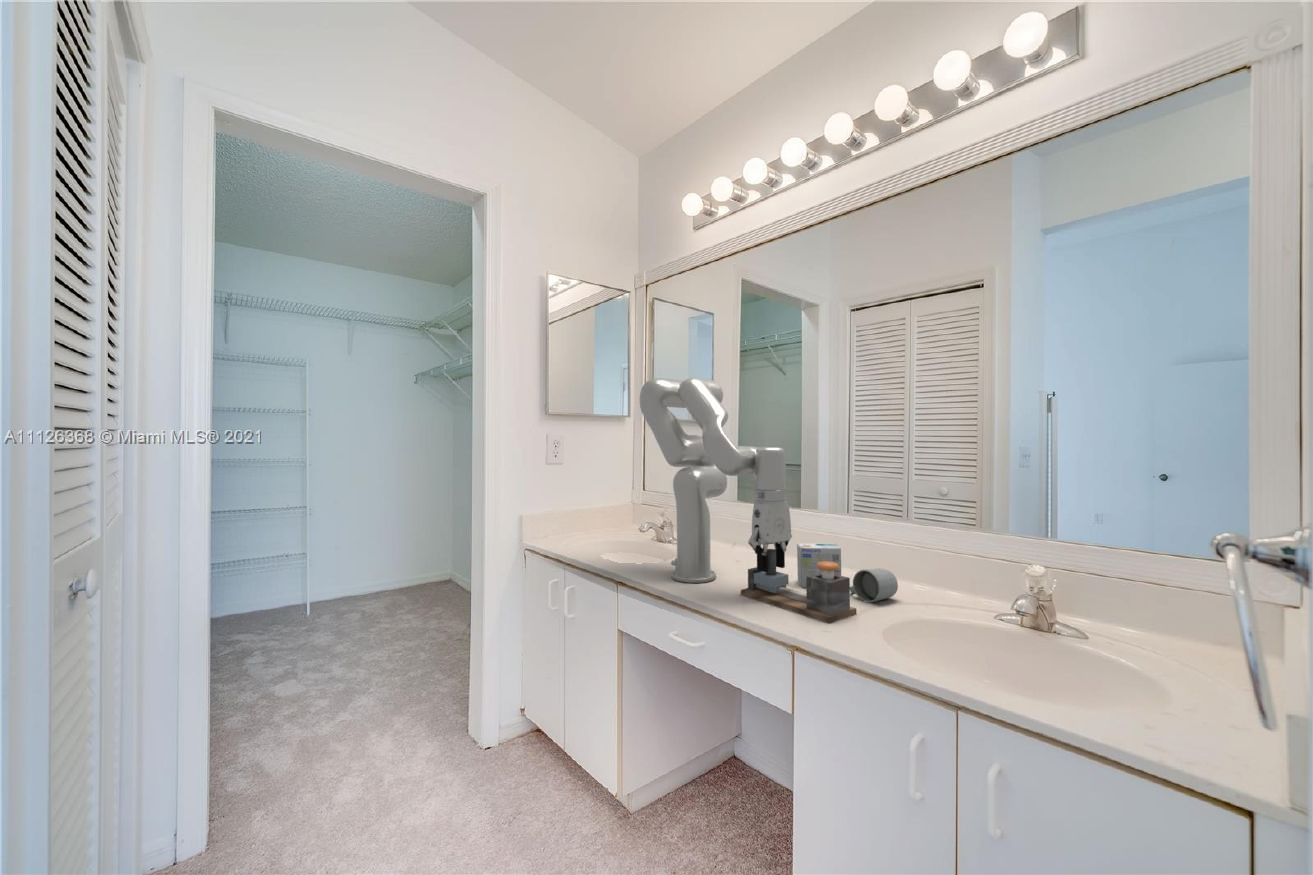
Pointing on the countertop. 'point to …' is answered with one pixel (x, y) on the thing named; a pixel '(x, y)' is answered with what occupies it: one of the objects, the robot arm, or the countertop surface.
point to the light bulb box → (816, 559)
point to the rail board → (808, 597)
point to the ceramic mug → (874, 584)
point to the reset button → (827, 569)
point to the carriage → (771, 575)
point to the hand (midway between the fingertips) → (770, 568)
